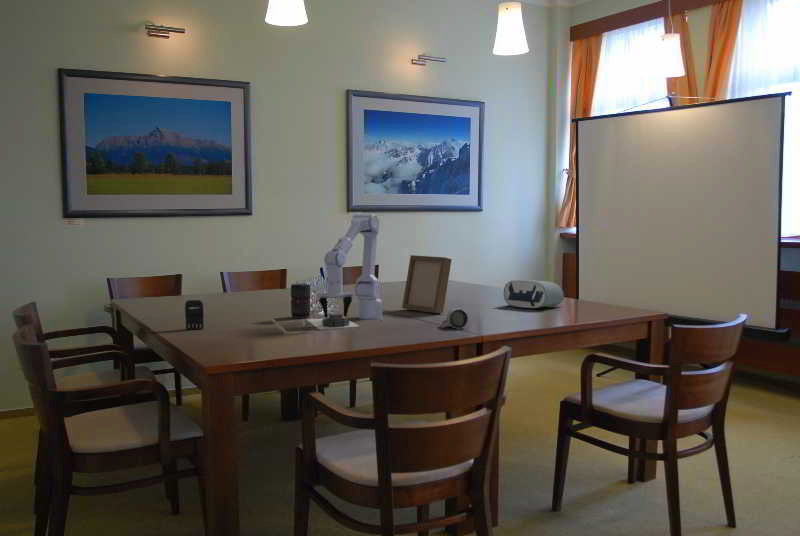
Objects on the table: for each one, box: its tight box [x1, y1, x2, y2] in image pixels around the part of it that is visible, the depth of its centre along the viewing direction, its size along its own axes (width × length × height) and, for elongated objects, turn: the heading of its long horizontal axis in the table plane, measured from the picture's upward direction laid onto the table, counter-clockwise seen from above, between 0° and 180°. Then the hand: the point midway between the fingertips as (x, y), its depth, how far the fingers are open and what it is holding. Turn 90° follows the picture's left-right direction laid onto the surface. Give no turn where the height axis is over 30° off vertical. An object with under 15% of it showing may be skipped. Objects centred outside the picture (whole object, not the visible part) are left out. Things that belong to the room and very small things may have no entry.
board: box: [305, 316, 361, 332], centre depth 272 cm, size 16×24×3 cm, turn 19°
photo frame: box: [401, 254, 453, 315], centre depth 309 cm, size 15×22×25 cm
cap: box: [328, 313, 343, 321], centre depth 266 cm, size 5×5×4 cm
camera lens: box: [290, 283, 311, 320], centre depth 285 cm, size 8×8×15 cm
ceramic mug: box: [439, 307, 469, 330], centre depth 265 cm, size 11×8×8 cm
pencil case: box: [503, 279, 565, 309], centre depth 322 cm, size 22×19×13 cm
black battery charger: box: [184, 299, 205, 330], centre depth 263 cm, size 7×4×11 cm, turn 106°
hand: (335, 316), depth 266 cm, fingers open, 7 cm apart
